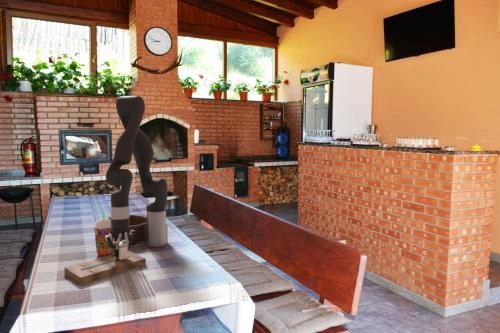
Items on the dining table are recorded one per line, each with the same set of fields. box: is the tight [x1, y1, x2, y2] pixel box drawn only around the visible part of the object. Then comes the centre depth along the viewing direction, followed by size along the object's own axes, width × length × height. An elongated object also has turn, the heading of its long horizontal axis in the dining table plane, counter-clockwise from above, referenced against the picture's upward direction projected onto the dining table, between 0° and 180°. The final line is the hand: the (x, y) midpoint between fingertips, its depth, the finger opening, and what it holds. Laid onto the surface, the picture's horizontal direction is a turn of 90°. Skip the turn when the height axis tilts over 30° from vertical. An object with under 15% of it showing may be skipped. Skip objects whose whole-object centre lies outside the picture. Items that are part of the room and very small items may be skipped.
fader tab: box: [118, 242, 129, 260], centre depth 164 cm, size 3×5×6 cm, turn 48°
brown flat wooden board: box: [64, 250, 147, 286], centre depth 159 cm, size 28×14×3 cm, turn 138°
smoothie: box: [93, 211, 114, 258], centre depth 176 cm, size 8×8×20 cm
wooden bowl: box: [106, 214, 147, 246], centre depth 198 cm, size 25×25×10 cm
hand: (121, 256), depth 164 cm, fingers closed on fader tab, 3 cm apart
